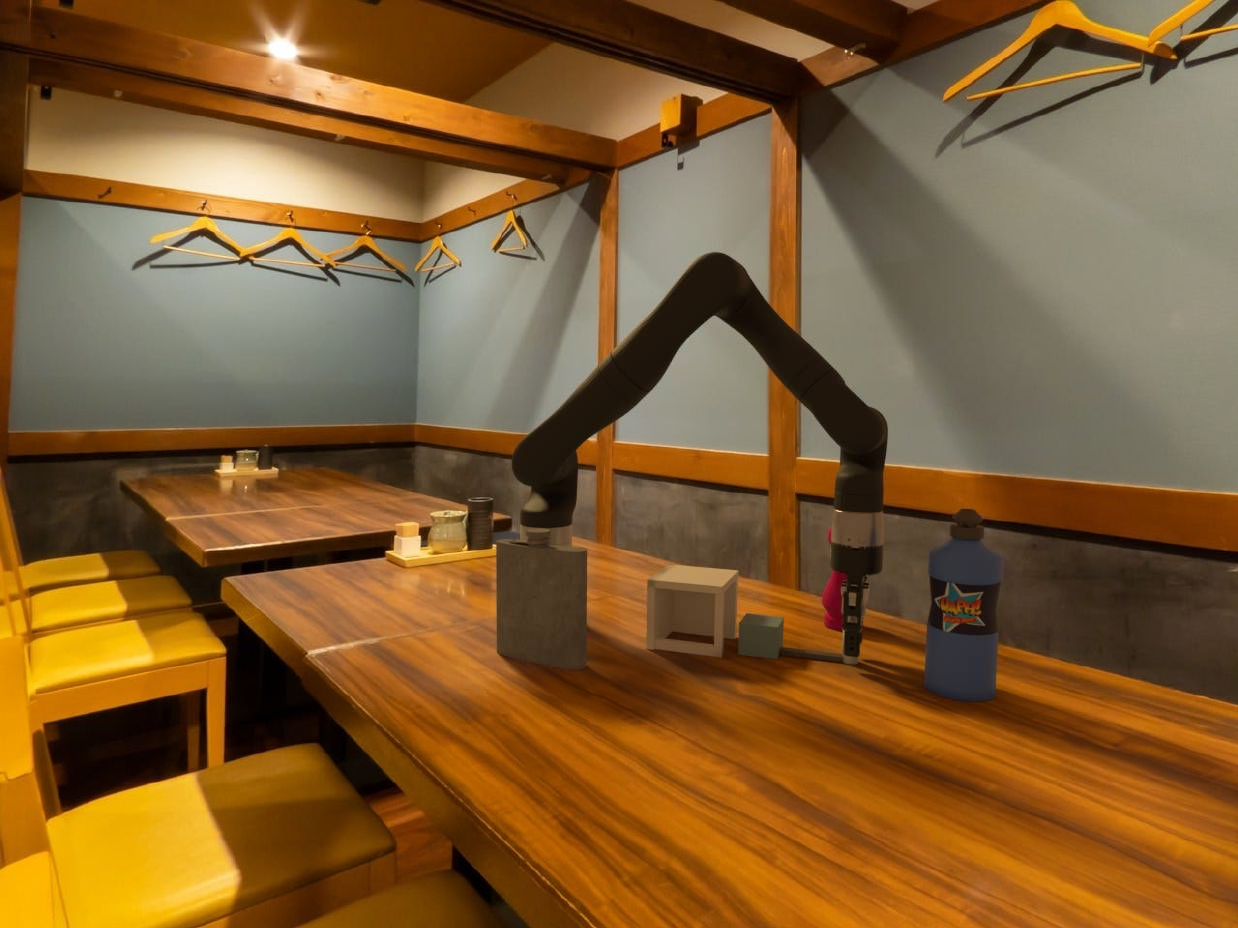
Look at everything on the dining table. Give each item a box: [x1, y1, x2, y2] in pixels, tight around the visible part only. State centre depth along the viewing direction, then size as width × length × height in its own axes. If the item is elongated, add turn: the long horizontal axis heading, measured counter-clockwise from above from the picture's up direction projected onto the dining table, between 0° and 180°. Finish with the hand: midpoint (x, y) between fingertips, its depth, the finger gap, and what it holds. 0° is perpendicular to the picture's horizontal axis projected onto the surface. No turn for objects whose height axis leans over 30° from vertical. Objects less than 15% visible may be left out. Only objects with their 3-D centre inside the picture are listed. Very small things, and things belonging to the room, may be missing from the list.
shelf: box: [645, 564, 739, 658], centre depth 125 cm, size 12×12×11 cm
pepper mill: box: [821, 526, 847, 632], centre depth 134 cm, size 7×7×20 cm
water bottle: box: [923, 508, 1005, 703], centre depth 105 cm, size 9×9×25 cm
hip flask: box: [495, 528, 588, 671], centre depth 115 cm, size 16×4×20 cm, turn 61°
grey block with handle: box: [737, 612, 859, 665], centre depth 119 cm, size 18×6×8 cm, turn 70°
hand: (853, 648), depth 116 cm, fingers open, 6 cm apart
